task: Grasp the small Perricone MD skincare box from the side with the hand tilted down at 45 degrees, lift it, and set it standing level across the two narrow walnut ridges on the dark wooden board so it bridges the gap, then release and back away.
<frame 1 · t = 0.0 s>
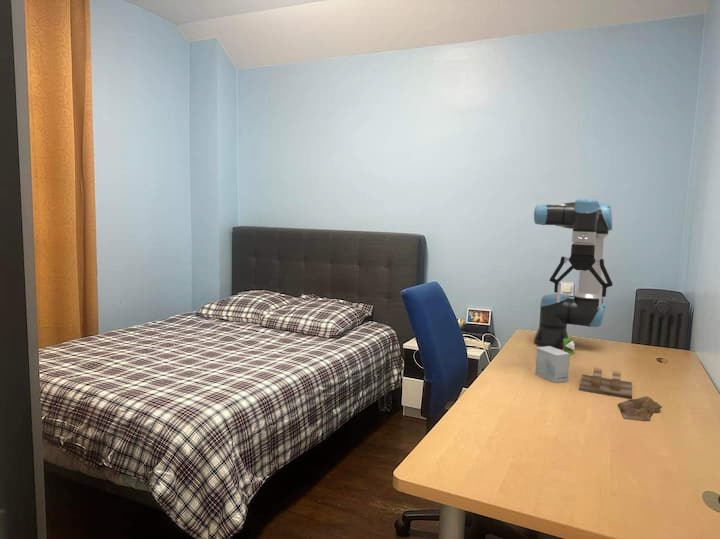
hand: (578, 303, 179), 28 cm above the table, tool pointing down, fingers open, 13 cm apart
geometric puzzle: (567, 353, 218), on the table
skincare box: (551, 378, 185), on the table
wooden fragment: (639, 409, 158), on the table
ridge board: (605, 387, 176), on the table
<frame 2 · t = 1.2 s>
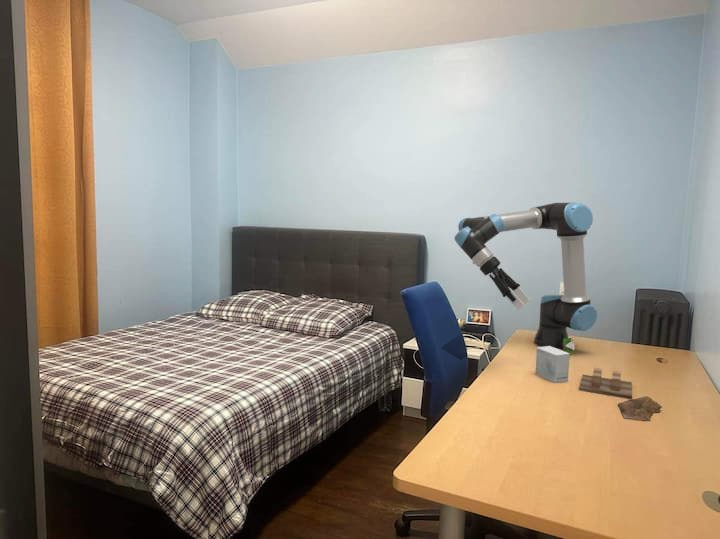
hand: (524, 305, 189), 25 cm above the table, tool tilted 45°, fingers open, 13 cm apart
nothing on the table moved.
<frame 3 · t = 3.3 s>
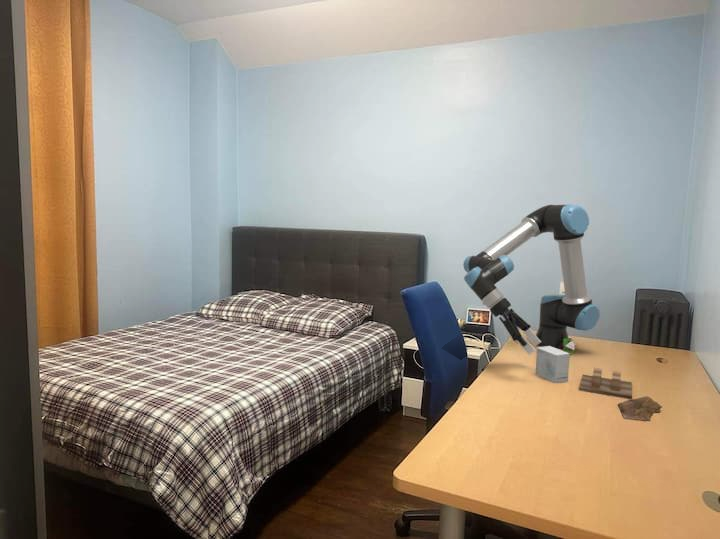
hand: (535, 348, 186), 10 cm above the table, tool tilted 45°, fingers open, 13 cm apart
nothing on the table moved.
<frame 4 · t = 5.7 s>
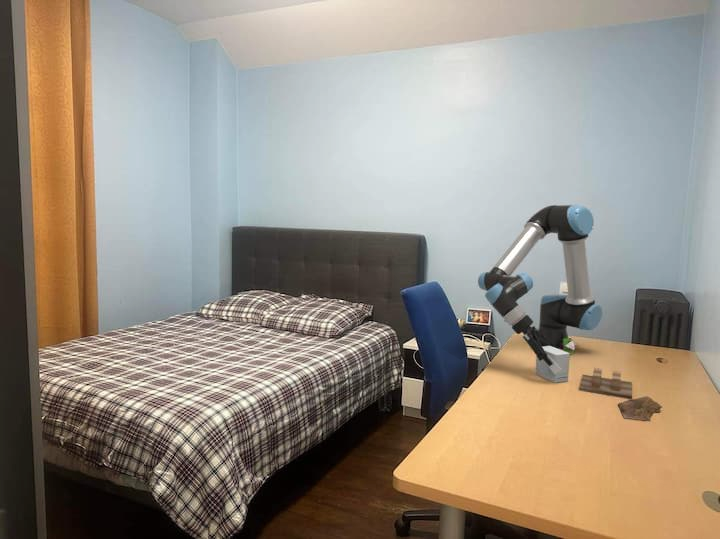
hand: (560, 367, 183), 4 cm above the table, tool tilted 45°, fingers closed on skincare box, 11 cm apart
skincare box: (551, 378, 185), on the table, touching gripper
everything else where it was.
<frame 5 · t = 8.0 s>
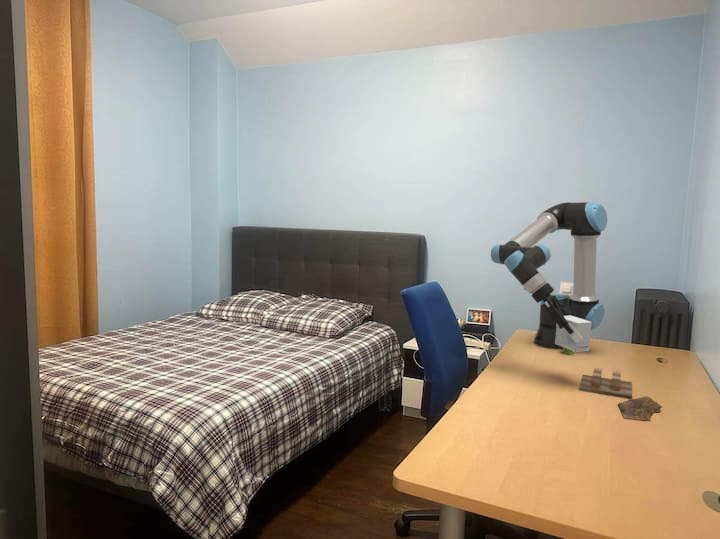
hand: (581, 337, 177), 17 cm above the table, tool tilted 45°, fingers closed on skincare box, 11 cm apart
skincare box: (571, 348, 179), point 12 cm above the table, touching gripper
everything else where it was.
when the fingers open (11 cm above the table, at t = 10.4 s): skincare box drops 1 cm, resting on ridge board.
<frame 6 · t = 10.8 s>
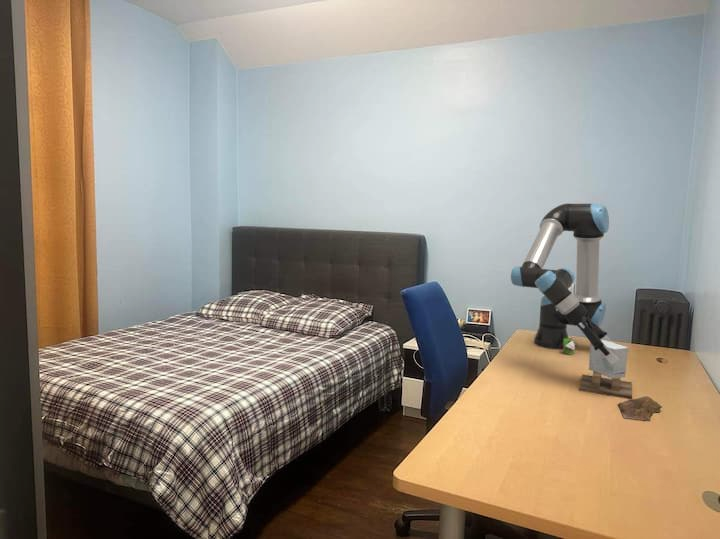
hand: (615, 357, 174), 11 cm above the table, tool tilted 45°, fingers open, 13 cm apart
skincare box: (606, 374, 175), point 5 cm above the table, touching ridge board
everything else where it was.
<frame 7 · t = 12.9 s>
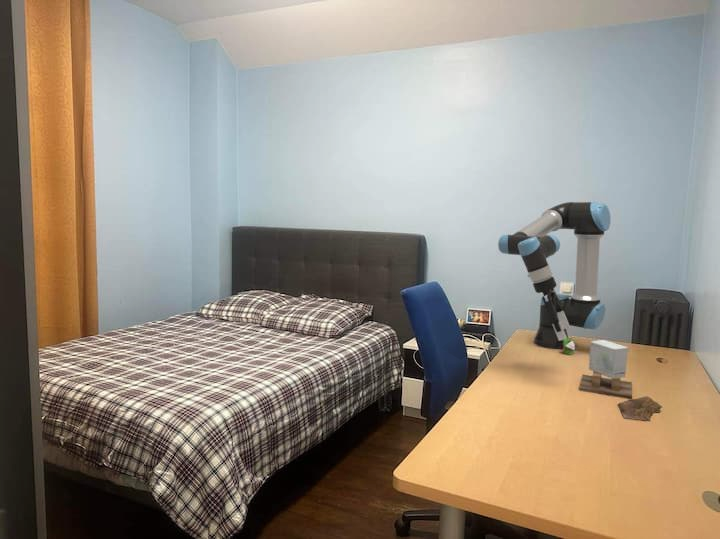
hand: (564, 333, 183), 16 cm above the table, tool tilted 25°, fingers open, 13 cm apart
nothing on the table moved.
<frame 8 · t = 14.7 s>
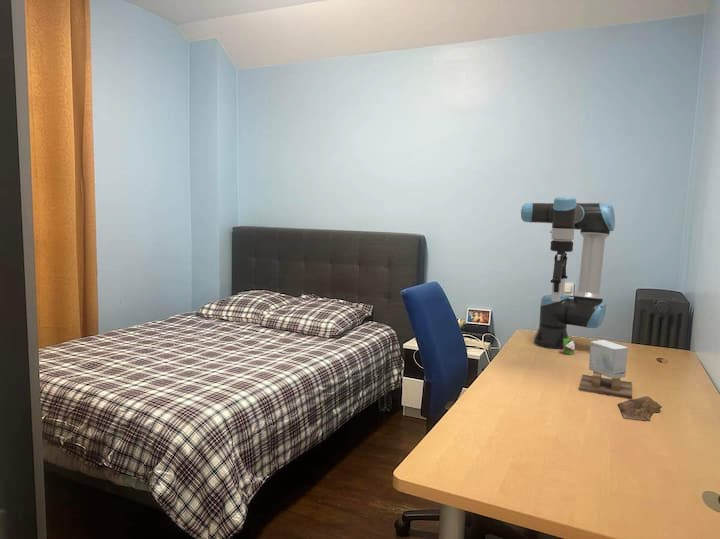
hand: (557, 298, 185), 29 cm above the table, tool pointing down, fingers open, 13 cm apart
nothing on the table moved.
at the end: skincare box inside the target area on the ridge board (0.1 cm from its centre), point 4.8 cm above the ridge board's base; skincare box tilted 0°; the gripper is holding nothing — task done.
